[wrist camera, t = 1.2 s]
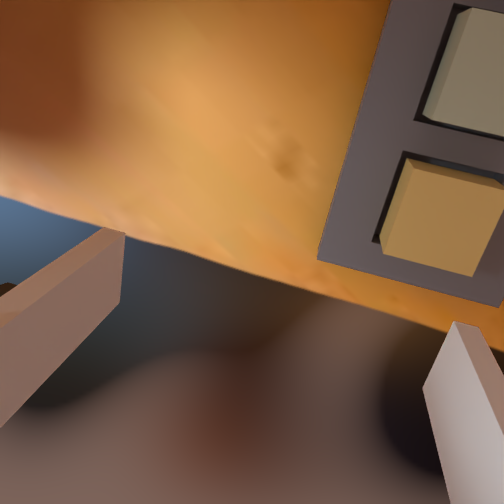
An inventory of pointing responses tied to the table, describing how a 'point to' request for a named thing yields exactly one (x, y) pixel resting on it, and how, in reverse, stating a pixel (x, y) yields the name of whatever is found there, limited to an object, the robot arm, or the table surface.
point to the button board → (410, 153)
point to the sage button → (471, 74)
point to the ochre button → (441, 217)
